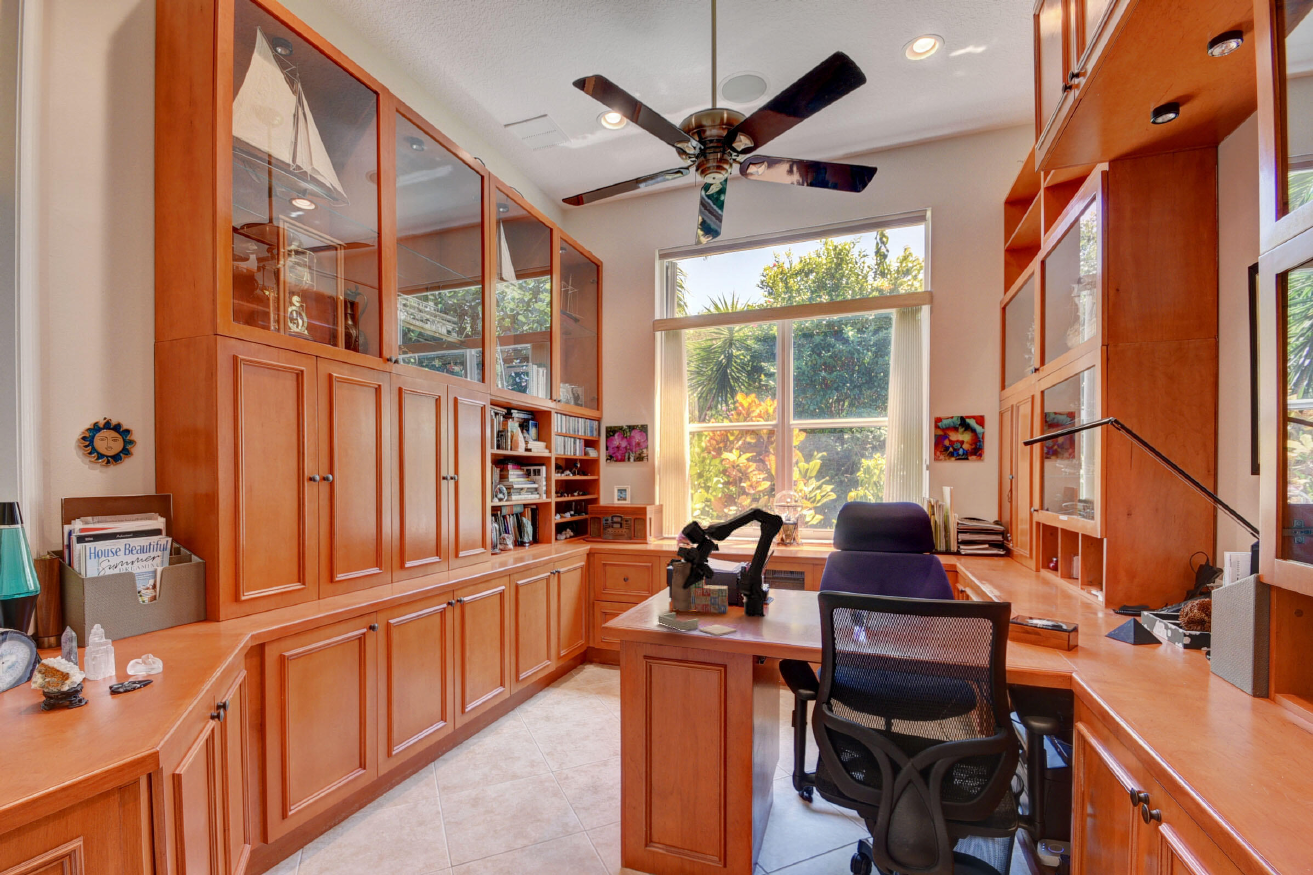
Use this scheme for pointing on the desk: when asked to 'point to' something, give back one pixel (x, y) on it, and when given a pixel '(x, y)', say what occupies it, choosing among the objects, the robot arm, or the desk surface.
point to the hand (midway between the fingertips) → (679, 587)
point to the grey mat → (717, 630)
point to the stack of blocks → (708, 597)
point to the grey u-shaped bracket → (677, 622)
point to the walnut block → (681, 586)
